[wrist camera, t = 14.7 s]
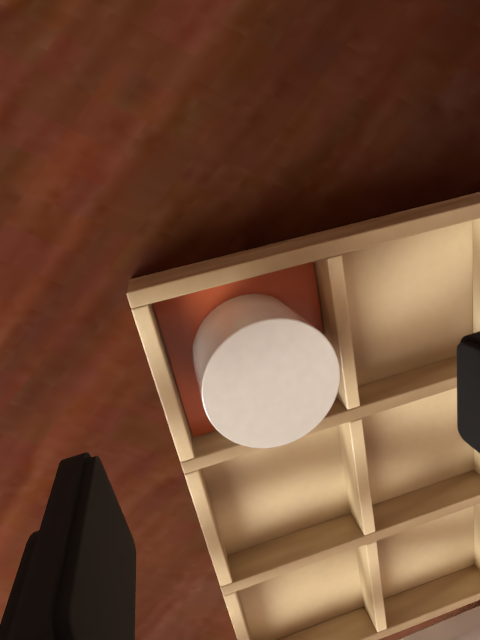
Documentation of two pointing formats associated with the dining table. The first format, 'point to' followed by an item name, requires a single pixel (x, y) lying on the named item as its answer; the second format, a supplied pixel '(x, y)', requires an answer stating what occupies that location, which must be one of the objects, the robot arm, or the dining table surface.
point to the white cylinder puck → (263, 371)
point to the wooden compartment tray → (338, 429)
